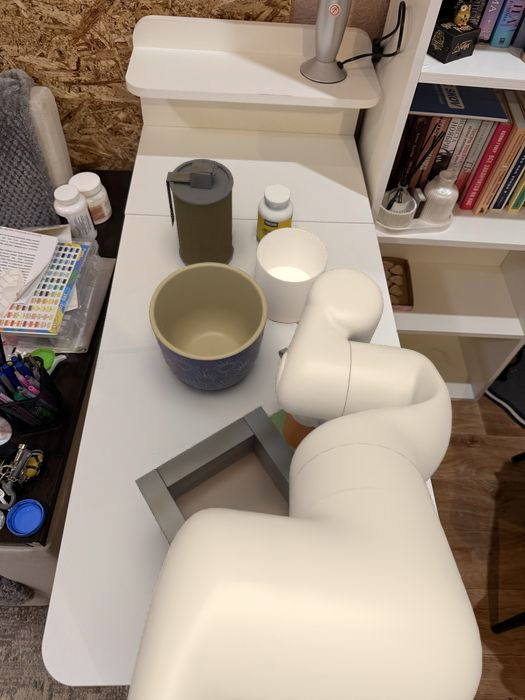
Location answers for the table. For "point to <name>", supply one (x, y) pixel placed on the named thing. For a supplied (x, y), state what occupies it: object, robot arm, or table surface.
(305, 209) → the table surface
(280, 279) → the cup
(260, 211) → the pill bottle
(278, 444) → the metal storage bin
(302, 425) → the medicine bottle
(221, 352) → the planter
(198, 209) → the canister
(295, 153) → the table surface
